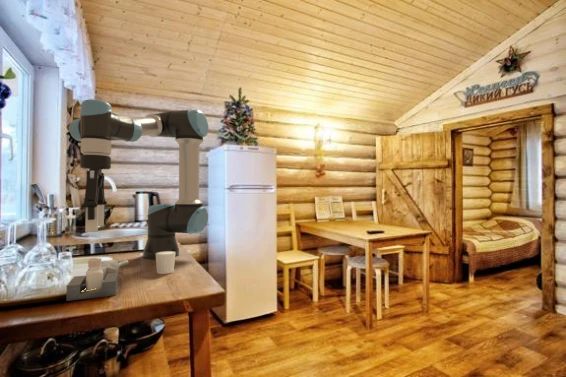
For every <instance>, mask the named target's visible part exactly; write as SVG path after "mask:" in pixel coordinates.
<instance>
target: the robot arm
mask: <svg viewBox="0 0 566 377" xmlns="http://www.w3.org/2000/svg"><path fill="white" fill-rule="evenodd" d="M79 116H80V117H79V118H78V119H77V118H76V119H74V120H72V121H71V122H70V123H69V129H68V130H69V133H70V136H71V137H72V138H73V139H74V140H75V141H77V142H78V143H77V145H78V146H79V147H80V153H81V155H80V157H79V158H80V160H79V162H80V165H79V166H80V168H82V169H84V170H85V169H86V183H85V190H84V191H85V194H84V202H83V203H82V205H81V206H82V208H83V209H85V227H84V228H85V229H84V230H85V231H84V232H85V233H97V232H98V231H99V230H98V228H99V227H104V226H105V205H107V204H108V203H107V202H108V201H107V200H106V199H105V174H104V172H102V171H103V170H111V168H112V163H111V162H112V158H111V156H110V155H112V142H113V141H124V142H127V143H128V142H129V143H131V142H132V143H135V142H137V141H138V140H140V138H141V137H144V136H149V137H151V138H156V137H162V138H172V139H173V138H175V141H176V142H177V143H178V199H177V200H176V202H174V203H173V202H172V203H162V204H154V205H150V206H149V207H148V208H147V210H148V211H147V216H146V217H147V240H146V243H145V246H144V249H143V251H142V257H143V258H145V259H150V260H151V259H153V260H156V253H157V252H163V251H174V252H175V257H177V256H179V255H180V248H179V245H178V242H177V239H176V234H189V235H192V234H200V233H201V232H203V231H204V229H205V228H206V227H207V224H208V219H209V212H208V210H207V208H206V207H204V206H203V204H204V203H203V202H202V200H200V146H201V144H202V143H203V142H204V137H206V136H207V135H208V133H209V123H208V122H209V121H208V119H207V117H206V115H205V113H203V111H201V110H199V109H192V108H191V109H181V110H169V111H164V112H158V113H148V114H147V115H145V116H130V117H129V116H124V115H120V114H117V113H114V112H113V110H112V105H111V104H110V103H109V102H107V101H104V100H100V99H85V100H83V101H82V102H81V105H80V114H79Z"/></svg>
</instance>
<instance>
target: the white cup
mask: <svg viewBox="0 0 566 377" xmlns="http://www.w3.org/2000/svg"><path fill="white" fill-rule="evenodd" d="M175 261H176V256H175V252H174V251H163V252H157V253H156V259H155V263H156V264H155V265H156V273H157V274H158V275H159V274H160V275H168V274H173V273H174V270H175Z"/></svg>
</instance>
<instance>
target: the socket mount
mask: <svg viewBox="0 0 566 377" xmlns="http://www.w3.org/2000/svg"><path fill="white" fill-rule="evenodd" d="M85 288H86V275H78V276H76V275H75V276H73V277H72V279H71V280H70V281H69V282H68V283H67V285H66V299H65V300H66V302H68V301H77V300H78V301H79V300H86V299H88V300H89V299H95V298H96V299H97V298H103V297H112V296H116V295H117V291H118V288H119V272H118V273H108V274H107V276H106V278H105V280H104V281H103V289H101V290H92V291H87V292H81V291H82V290H84V289H85Z"/></svg>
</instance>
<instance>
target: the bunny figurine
mask: <svg viewBox="0 0 566 377" xmlns="http://www.w3.org/2000/svg"><path fill="white" fill-rule="evenodd" d="M129 264H130V262H129V260H127V259H126V260H122V261H120V262H119V261H118V260H114V259H109V260H103V261H102V260H101V269H102V270H103V280H105V278H106V276H107V274H108V273H118V274H119V270H120V267H123V266H127V265H129ZM88 270H89V268H88V269H87V271H88Z"/></svg>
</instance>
